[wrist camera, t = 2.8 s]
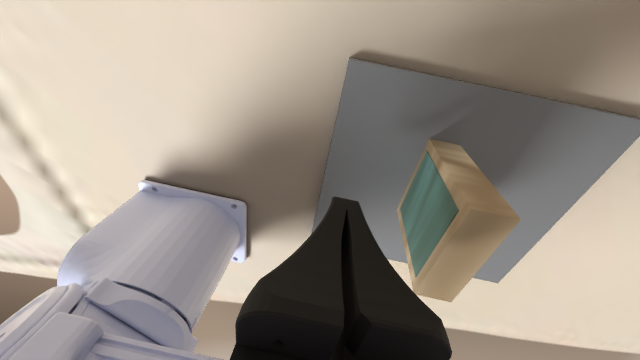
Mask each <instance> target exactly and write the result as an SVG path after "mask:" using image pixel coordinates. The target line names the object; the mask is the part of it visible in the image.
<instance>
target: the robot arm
mask: <svg viewBox="0 0 640 360" xmlns="http://www.w3.org/2000/svg"><path fill="white" fill-rule="evenodd" d="M138 186H139V189H140V192H138V193H137V194H136V195H134V196H133V197H132V198H131V199H129V200H128V201H127V202H125V203H124V204H123V205H122V206H120V207H119V208H118V209H117V210H115V211H114V212H113V213H111V214H110V215H109V216H108V217H106V218H105V219H104V220H102V221H101V222H100V223H99V224H97V225H96V226H95V227H94V228H92V229H91V230H90V231H88V232H87V233H86V234H85V235H83V236H82V237H81V238H80V239H79V240H78V241H77V242H76V243H75V244H74V245H73V247H72V248H71V249H70V251H69V252H68V253H67V255H66V256H65V258H64V260H63V262H62V264H61V266H60V268H59V271H58V276H57V287H53V288H51V289H49V290H47V291H46V292H44V293H42V294H41V295H39V296H38V297H37V298H35V299H34V300H32V301H31V302H30V303H28V304H27V305H25V306H24V307H23V308H21V309H20V310H19V311H18V312H16V313H15V314H14V315H12V316H11V317H10V318H9V319H7V320H6V321H5V322H4V323H2V324H1V325H0V360H223V359H218V358H214V357H210V356H205V355H201V354H196V353H193V351H194V349H195V347H196V345H197V343H198V340H197V339H196V338H194V336H193V335H192V332H193V330H194V328H195V326H196V324H197V322H198V321H199V319H200V317H201V315H202V313H203V311H204V309H205V307H206V305H207V304H208V302H209V300H210V298H211V296H212V294H213V292H214V290H215V289H216V287H217V285H218V283H219V281H220V279H221V277H222V275H223V274H224V272H225V270H226V268H227V266H228V264H229V262H230V261H234V262H239V263H244V262H245V260H246V237H247V206H246V204H245V203H244V202H242V201H239V200H234V199H230V198H225V197H221V196H216V195H211V194H207V193H202V192H198V191H193V190H189V189H184V188H179V187H175V186H170V185H166V184H161V183H157V182H152V181H147V180H142V181H140V182H139V183H138ZM233 204H234V205H236V206H234V205H233ZM451 355H452V350H451V347H450V343H449V340H448V337H447V334H446V331H445V328H444V326H443V323H442V320H441V319H440V318H439V317H438V316H437V315H436V314H435V313H434V312H433V311H432V310H431V309H430V308H429V307H428V306H426V305H425V304H424V303H423V302H422V301H421V300H420V299H419V298H418V297H417V295H416V294H415V293H414V292H413V291H412V290H411V289H410V288H409V287H408V286H407V284H406V283H405V282H404V281H403V280H402V278H401V277H400V276H399V275H398V273H397V272H396V271H395V270H394V268H393V267H392V266H391V264H390V263H389V261H388V260H387V258H386V257H385V255H384V254H383V252H382V251H381V249H380V247H379V245H378V244H377V242H376V240H375V238H374V236H373V234H372V232H371V230H370V228H369V226H368V224H367V222H366V219H365V217H364V214H363V212H362V209H361V206H360V203H359V202H358V201H354V200H349V199H345V198H340V197H333V198H332V200H331V204H330V207H329V209H328V211H327V212H326V214H325V216H324V217H323V219H322V221H321V222H320V224H319V225H318V226H317V228H316V229H315V230H314V232H313V233H312V234H311V235H310V237H309V238H308V239H307V240H306V241H305V242H304V243H303V244H302V245H301V246H300V247H299V248H298V249H297V250H296V251H295V252H294V253H293V254H292V255H291V256H290V257H289V258H288V259H286V260H285V261H284V262H283V263H282V264H280V265H279V266H278V267H277V268H275V269H274V270H272V271H271V272H270V273H268V274H267V275H265V276H264V277H263V278H261V279H260V280H259V281H258V283H257V284H256V285H255V287H254V288H253V289H252V291H251V292H250V294H249V295H248V297H247V298H246V300H245V302H244V304H243V306H242V308H241V310H240V313H239V315H238V318H237V320H236V345H235V348H234V350H233V353H232V355H231V358H230V360H449V359H450V358H451Z"/></svg>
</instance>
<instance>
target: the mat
mask: <svg viewBox="0 0 640 360" xmlns="http://www.w3.org/2000/svg"><path fill="white" fill-rule="evenodd" d="M639 136H640V118H637V117H632V116H627V115H623V114H618V113H613V112H608V111H604V110H599V109H594V108H589V107H584V106H580V105H575V104H570V103H565V102H561V101H556V100H551V99H546V98H541V97H537V96H532V95H527V94H522V93H518V92H513V91H508V90H503V89H498V88H494V87H489V86H484V85H479V84H475V83H470V82H465V81H460V80H455V79H451V78H446V77H441V76H436V75H432V74H427V73H422V72H417V71H412V70H408V69H403V68H398V67H393V66H389V65H384V64H379V63H374V62H369V61H365V60H360V59H355V58H349V62H348V67H347V71H346V76H345V81H344V85H343V90H342V95H341V99H340V104H339V109H338V113H337V118H336V122H335V127H334V132H333V136H332V141H331V146H330V150H329V155H328V160H327V164H326V169H325V173H324V178H323V183H322V187H321V192H320V197H319V201H318V206H317V211H316V215H315V220H314V225H313V229H312V233H313V232H314V230H315V229H316V228H317V226H318V225H319V224H320V222H321V221H322V219H323V217H324V216H325V214H326V212H327V211H328V209H329V207H330V204H331V200H332V198H333V197H340V198H345V199H349V200H354V201H358V202H359V203H360V206H361V209H362V212H363V214H364V217H365V219H366V222H367V224H368V226H369V228H370V230H371V232H372V234H373V236H374V238H375V240H376V242H377V244H378V245H379V247H380V249H381V251H382V252H383V254H384V255H385V257H386V258H387V259H390V260H395V261H399V262H404V263H408V262H407V257H406V252H405V247H404V242H403V238H402V233H401V228H400V223H399V218H398V213H397V208H398V206H399V204H400V202H401V199H402V197H403V195H404V193H405V191H406V188H407V186H408V184H409V182H410V180H411V177H412V175H413V173H414V171H415V169H416V166H417V164H418V162H419V160H420V158H421V155H422V153H423V151H424V149H425V147H426V144H427V142H428V140H429V139H433V140H438V141H442V142H447V143H452V144H456V145H460V146H461V147H462V148H463V149H464V151H465V152H466V153H467V154H468V155H469V157H470V158H471V159H472V160H473V161H474V163H475V164H476V165H477V166H478V168H479V169H480V170H481V171H482V172H483V174H484V175H485V176H486V177H487V178H488V180H489V181H490V182H491V183H492V185H493V186H494V187H495V188H496V189H497V191H498V192H499V193H500V194H501V196H502V197H503V198H504V199H505V200H506V202H507V203H508V204H509V205H510V206H511V208H512V209H513V210H514V211H515V213H516V214H517V215H518V216H519V217H520V219H521V221H520V222H519V223H518V224H517V225H516V226H515V228H514V229H513V230H512V231H511V232H510V234H509V235H508V236H507V237H506V238H505V239H504V241H503V242H502V243H501V244H500V245H499V247H498V248H497V249H496V250H495V251H494V252H493V254H492V255H491V256H490V257H489V258H488V260H487V261H486V262H485V263H484V264H483V265H482V267H481V268H480V269H479V270H478V271H477V272H476V274H475V275H474V276H473V277H472V278H477V279H481V280H486V281H490V282H495V283H499V281H500V280H501V279H502V278H503V277H504V276H505V275H506V274H507V273H508V272H509V271H510V270H511V269H512V268H513V267H514V266H515V265H516V264H517V263H518V262H519V261H520V260H521V259H522V258H523V257H524V256H525V255H526V253H527V252H528V251H529V250H530V249H531V248H532V247H533V246H534V245H535V244H536V243H537V242H538V241H539V240H540V239H541V238H542V237H543V236H544V235H545V234H546V233H547V232H548V231H549V230H550V229H551V228H552V226H553V225H554V224H555V223H556V222H557V221H558V220H559V219H560V218H561V217H562V216H563V215H564V214H565V213H566V212H567V211H568V210H569V209H570V208H571V207H572V206H573V205H574V204H575V203H576V202H577V201H578V199H579V198H580V197H581V196H582V195H583V194H584V193H585V192H586V191H587V190H588V189H589V188H590V187H591V186H592V185H593V184H594V183H595V182H596V181H597V180H598V179H599V178H600V177H601V176H602V175H603V174H604V173H605V171H606V170H607V169H608V168H609V167H610V166H611V165H612V164H613V163H614V162H615V161H616V160H617V159H618V158H619V157H620V156H621V155H622V154H623V153H624V152H625V151H626V150H627V149H628V148H629V147H630V146H631V144H632V143H633V142H634V141H635V140H636V139H637V138H638V137H639Z"/></svg>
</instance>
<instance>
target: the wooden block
mask: <svg viewBox="0 0 640 360" xmlns="http://www.w3.org/2000/svg"><path fill="white" fill-rule="evenodd" d="M397 213H398V218H399V223H400V228H401V233H402V238H403V242H404V247H405V252H406V257H407V262H408V267H409V272H410V276H411V281H412V286H413V291H414V293H415V294H416V295H421V296H425V297H430V298H434V299H439V300H443V301H448V302H452V301H453V300H454V298H455V297H456V296H457V295H458V294H459V293H460V291H461V290H462V289H463V288H464V287H465V285H466V284H467V283H468V282H469V281H470V280H471V278H472V277H473V276H474V275H475V274H476V272H477V271H478V270H479V269H480V268H481V267H482V265H483V264H484V263H485V262H486V261H487V260H488V258H489V257H490V256H491V255H492V254H493V252H494V251H495V250H496V249H497V248H498V247H499V245H500V244H501V243H502V242H503V241H504V239H505V238H506V237H507V236H508V235H509V234H510V232H511V231H512V230H513V229H514V228H515V226H516V225H517V224H518V223H519V222H520V221H521V219H520V217H519V216H518V215H517V214H516V213H515V211H514V210H513V209H512V208H511V206H510V205H509V204H508V203H507V202H506V200H505V199H504V198H503V197H502V196H501V194H500V193H499V192H498V191H497V189H496V188H495V187H494V186H493V185H492V183H491V182H490V181H489V180H488V178H487V177H486V176H485V175H484V174H483V172H482V171H481V170H480V169H479V168H478V166H477V165H476V164H475V163H474V161H473V160H472V159H471V158H470V157H469V155H468V154H467V153H466V152H465V151H464V149H463V148H462V147H461V146H460V145H456V144H452V143H447V142H442V141H438V140H433V139H429V140H428V142H427V144H426V147H425V149H424V151H423V153H422V155H421V158H420V160H419V162H418V164H417V166H416V169H415V171H414V173H413V175H412V177H411V180H410V182H409V184H408V186H407V188H406V191H405V193H404V195H403V197H402V199H401V202H400V204H399V206H398V208H397Z"/></svg>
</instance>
